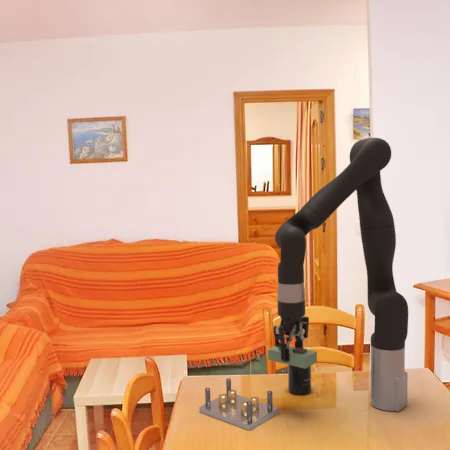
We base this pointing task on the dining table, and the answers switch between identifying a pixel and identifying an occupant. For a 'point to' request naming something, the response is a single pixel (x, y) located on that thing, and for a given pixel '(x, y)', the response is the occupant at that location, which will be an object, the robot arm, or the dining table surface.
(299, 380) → the supplement bottle
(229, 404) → the chassis
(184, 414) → the dining table surface
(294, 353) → the board
